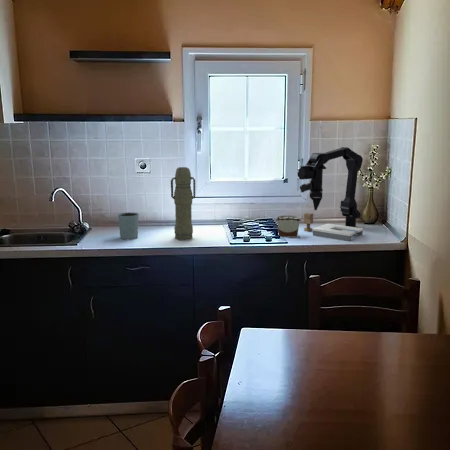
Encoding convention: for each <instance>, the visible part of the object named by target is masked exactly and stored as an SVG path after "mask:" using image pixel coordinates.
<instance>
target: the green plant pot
mask: <svg viewBox="0 0 450 450" xmlns="http://www.w3.org/2000/svg"><path fill="white" fill-rule="evenodd" d="M139 215H140V214H139V213H138V212H121V213H118V214H117V218H118V227H119V236H120V237H119V238H120V239H121V240H125V241H126V240H128V241H130V240H133V241H134V240H137V239H138V238H139Z"/></svg>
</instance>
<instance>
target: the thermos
mask: <svg viewBox="0 0 450 450" xmlns="http://www.w3.org/2000/svg"><path fill="white" fill-rule="evenodd" d="M192 180H193V181H192ZM174 182H175V183H174ZM192 183H193V187H191V184H192ZM174 184H175V189H174ZM192 189H193V190H192ZM170 191H171V192H170V194H171V195H170V198H172V199H173V200H174V209H175V223H174V239H175V240H178V241H189V240H192V239H193V233H194V230H193V229H194V227H193V221H192V205H193V200H194V199H195V198H196V178H194V176H192V174H191V170H190V168H188V167H187V166H186V167H185V166H181V167H179V166H178V167H177V168H176V170H175V175H174V177H172V178H171V180H170Z"/></svg>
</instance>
